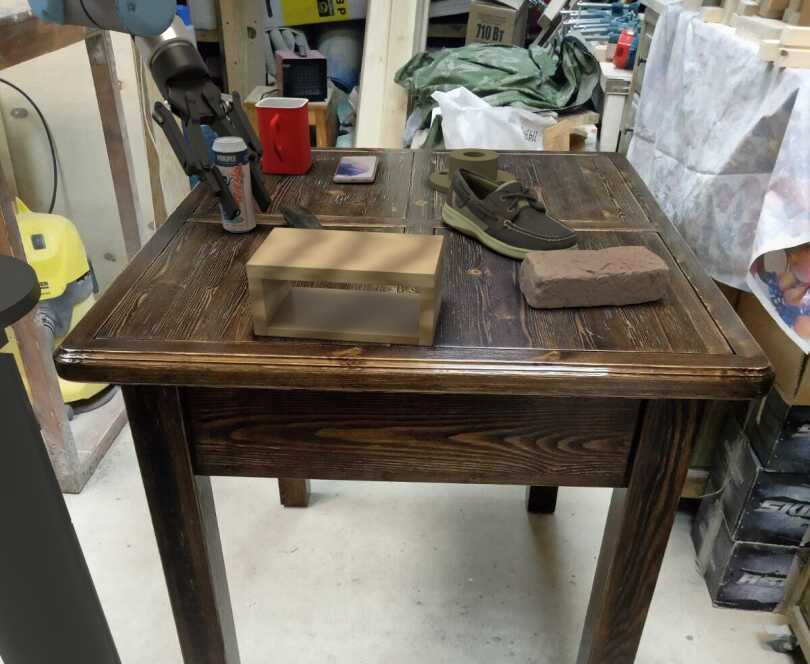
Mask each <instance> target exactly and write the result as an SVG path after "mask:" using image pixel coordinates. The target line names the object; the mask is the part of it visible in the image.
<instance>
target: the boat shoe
mask: <svg viewBox="0 0 810 664" xmlns="http://www.w3.org/2000/svg"><path fill="white" fill-rule="evenodd" d="M440 218H441V221H443V222H444V223H445V224H447V225H448V226H450V227H451V228H453V229H454V230H457V231H459V232H460V233H463V234H464V235H466V236H468V237H471V238H473V239H476V241H478V242H480V243H481V244H482V245H484V246H486V247H487V248H489V249H490V250H492V251H494V252H497V253H498V254H500V255H503V256H505V257H508V258H512V259H516V260H520V261H521V260H522V261H524V257H525V254H527V253H529V252H541V251H545V252H548V251H553V250H571V251H574V250H579V246H578V240H579V239H578V235H577V230H575V228H572V227H570V226H569V225H567V224H565V222H563V221H561V220H559V219H557V218H555V217H554V216H552V215H551V214H549V213H548V212H547V209H546V207H545V205H544V204H542V203H541V202H540V201H539V200H538V199H537V198H536V197H535V196H534V195H533V193H532V192H531V191H530V187H527V186H526V185H525V183H522V182H520V181H518V180H517V179H516V180H511V181H508V182H506V183H504V184H500V183H497V182H495V181H493V180H492V179H489V178H487V177H485V176H483V175H481V174H478V173H476V172H473V171H470V170H469V169H466V168H462V167H459V168H457V169H456V170H455V172H454V175H453V178H452V181H451V185H450V187H449V190H448V194H447V193H446V199H445V201H444V204H443V206H442V209H441V212H440Z"/></svg>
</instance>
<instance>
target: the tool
mask: <svg viewBox="0 0 810 664" xmlns="http://www.w3.org/2000/svg"><path fill="white" fill-rule="evenodd" d="M277 209H278V211H279V212H280V214H281V215H282V217H283V219H284V222H286V224H287V225H288V226H289V228H295V229H316V230H327V229H326V228H325V227H324V226H323V224H321V222H320V221H319V220H318V217H317V215H316V214H315V213H314V212H311V210H310V209H308V208H307V207H305V206H303V205H301V204H297V203H295V202H289V203H280V204H279V205H277Z"/></svg>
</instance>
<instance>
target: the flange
mask: <svg viewBox="0 0 810 664" xmlns="http://www.w3.org/2000/svg"><path fill="white" fill-rule="evenodd" d="M499 159H500V154H499V153H498V152H497V151H495V150H491V149H487V148H476V147H475V148H474V147H471V148H470V147H467V148H466V147H465V148H459V149H454V150H451V151H450V152H449V153H448V168H447V167H446V168H442V169H439V170H436V171H433V172H432V173H431V174H429V178H428V179H429V181H428V185H429V187H431V188H432V189H434V190H435V191H437V192H441V193H444V194H446V195H447V194H448V190H449V187H450V185H451V181H452V178H453V175H454V172H455V170H456V169H457V168H459V167H462V168H466V169H469V170H470V171H473V172H476V173H478V174H481V175H483V176H485V177H487V178H489V179H492V180H493V181H495V182H497V183H500V184H504V183H506V182H508V181H511V180H516V181H517V178H516V176H515V175H514V174H513V173H510V172H508V171H505V170H501V169H499V161H500V160H499Z"/></svg>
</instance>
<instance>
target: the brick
mask: <svg viewBox="0 0 810 664" xmlns="http://www.w3.org/2000/svg"><path fill="white" fill-rule="evenodd" d="M669 273H670V267H669V266H668V264H667V263H666V262H665V260H663V259H662V258H661V257H660V256H659V255H657V254H656V253H654V252H652V250H650V249H648V248H647V247H646V246H645V245H626V246H625V245H624V246H621V245H620V246H614V247H613V246H611V247H607V248H601V249H598V250H594V249H589V250H588V249H578V250H574V251H571V250H553V251H548V252H545V251H541V252H529V253H527V254H525V257H524V260H522V262H521V264H520V268H519V276H518V280H519V290H520V291H521V293H522V294H523V295H524V297H525V299H526V303H527V304H528V305H529V306H530V307H531V308H535V309H557V308H559V309H561V308H564V307H565V308H578V307H580V308H581V307H586V308H589V307H599V306H617V307H618V306H624V305H633V304H635V305H636V304H641V303H647V302H652V301H653V302H654V301H657V300H659V299H661V298H662V297H663V296H664V294H665V293H666V288H667V285H668V282H669V276H668V275H669Z"/></svg>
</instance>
